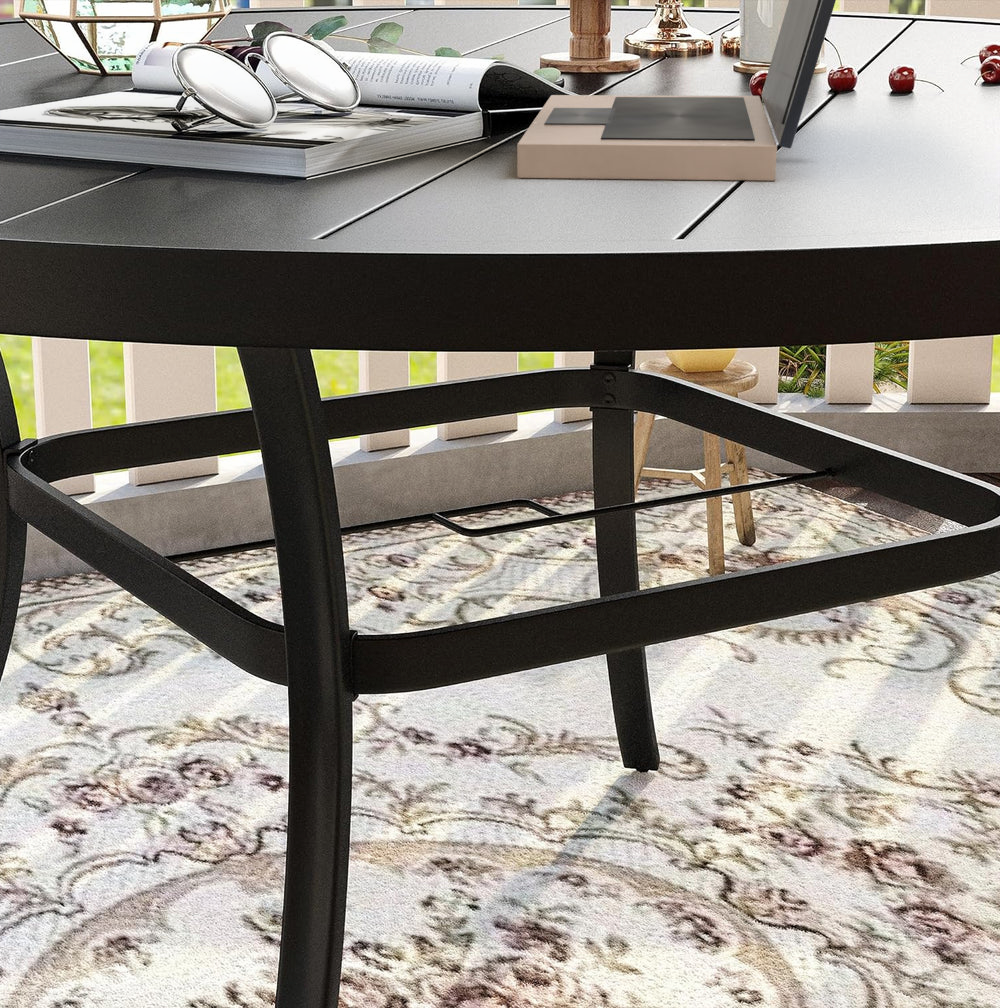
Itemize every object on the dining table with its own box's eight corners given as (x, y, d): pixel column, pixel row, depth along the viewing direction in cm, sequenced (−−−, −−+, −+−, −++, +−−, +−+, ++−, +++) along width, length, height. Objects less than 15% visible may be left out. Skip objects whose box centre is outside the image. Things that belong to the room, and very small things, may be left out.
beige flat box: (517, 178, 83) (517, 142, 82) (550, 123, 103) (550, 93, 102) (775, 181, 81) (777, 143, 80) (758, 124, 101) (759, 94, 100)
